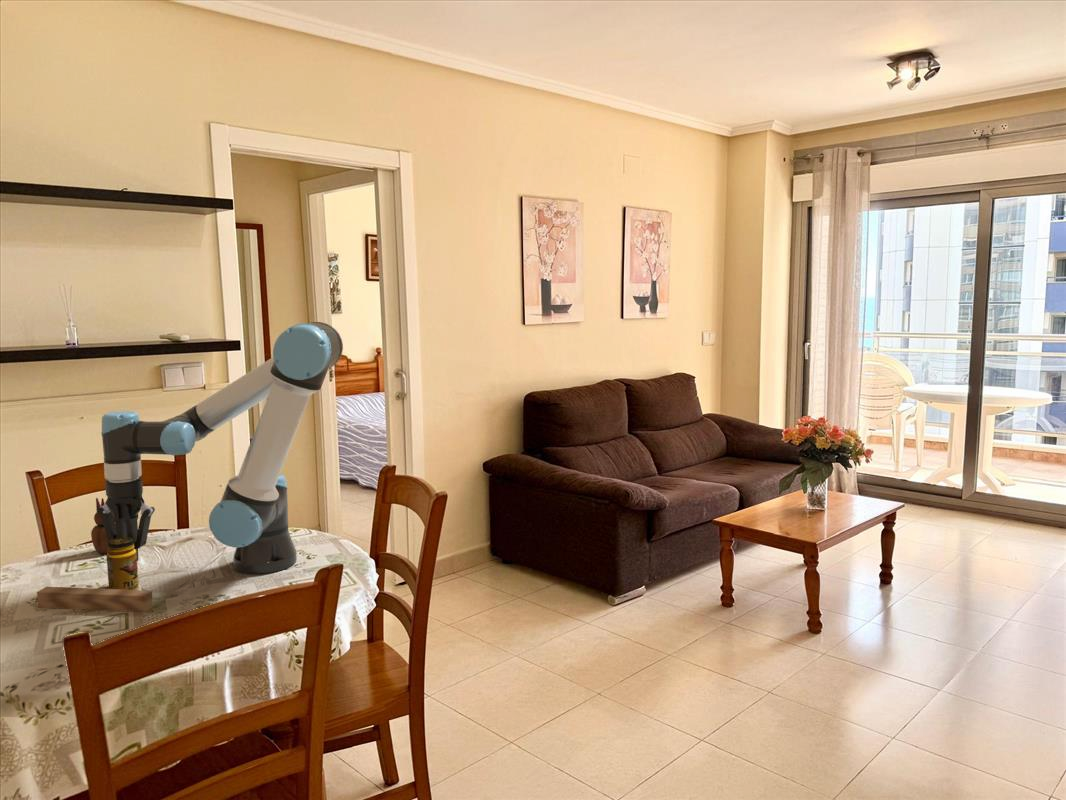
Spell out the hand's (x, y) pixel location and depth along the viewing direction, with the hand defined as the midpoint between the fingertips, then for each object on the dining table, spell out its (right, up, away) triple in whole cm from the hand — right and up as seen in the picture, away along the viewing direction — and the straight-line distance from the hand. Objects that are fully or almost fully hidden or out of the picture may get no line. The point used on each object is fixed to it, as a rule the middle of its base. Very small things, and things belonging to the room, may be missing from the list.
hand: (129, 575), depth 177 cm
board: (0, -4, -13) cm, 14 cm away
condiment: (0, -3, -4) cm, 5 cm away
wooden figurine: (-17, +1, +20) cm, 26 cm away
